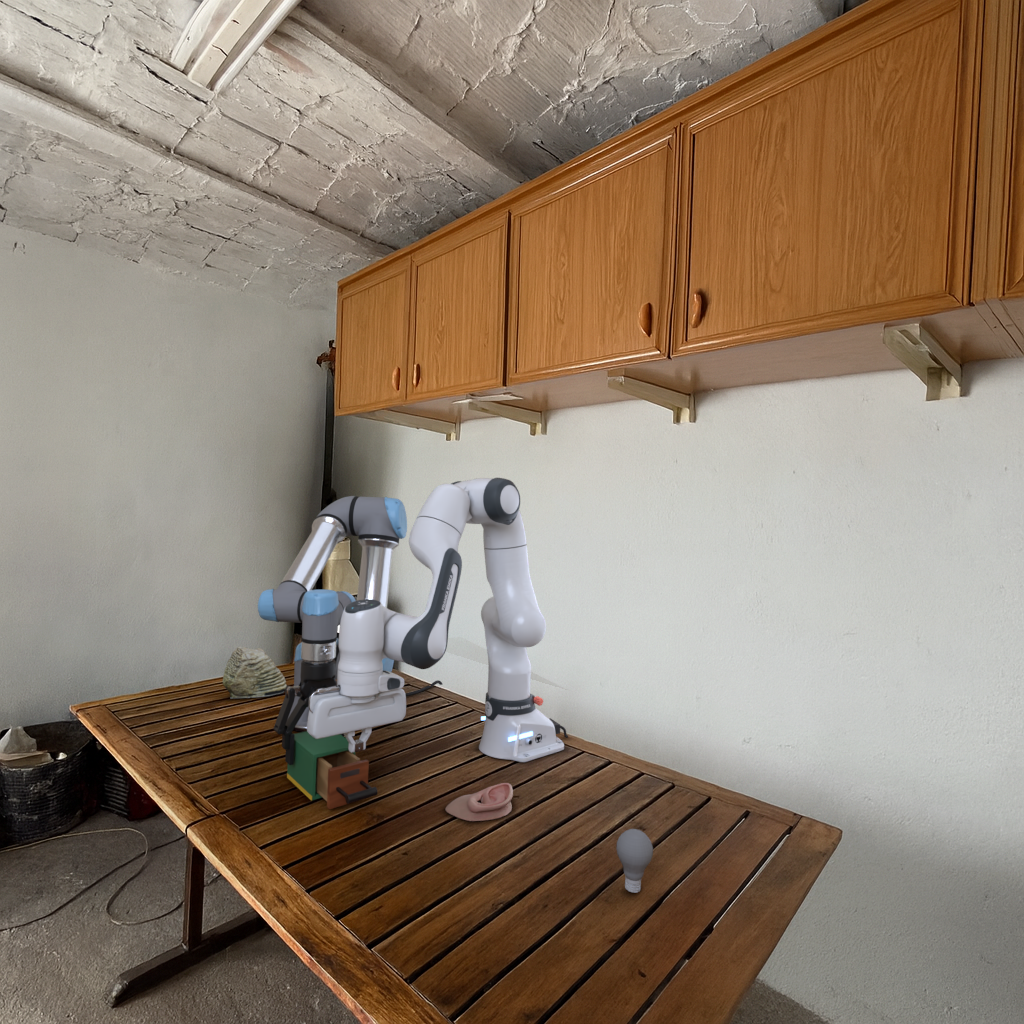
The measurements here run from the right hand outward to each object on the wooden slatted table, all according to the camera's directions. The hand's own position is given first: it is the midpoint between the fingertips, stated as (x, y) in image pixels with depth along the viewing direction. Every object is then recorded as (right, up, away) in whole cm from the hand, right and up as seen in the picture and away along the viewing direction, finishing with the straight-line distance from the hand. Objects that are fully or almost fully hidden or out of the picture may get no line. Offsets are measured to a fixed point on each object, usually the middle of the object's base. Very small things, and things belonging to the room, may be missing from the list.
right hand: (356, 750), depth 127 cm
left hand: (-13, -7, +15) cm, 21 cm away
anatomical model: (+24, -14, +4) cm, 28 cm away
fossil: (-49, -9, +71) cm, 87 cm away
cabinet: (-11, -12, +13) cm, 21 cm away
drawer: (-4, -12, +5) cm, 13 cm away
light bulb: (+51, -16, -22) cm, 58 cm away
